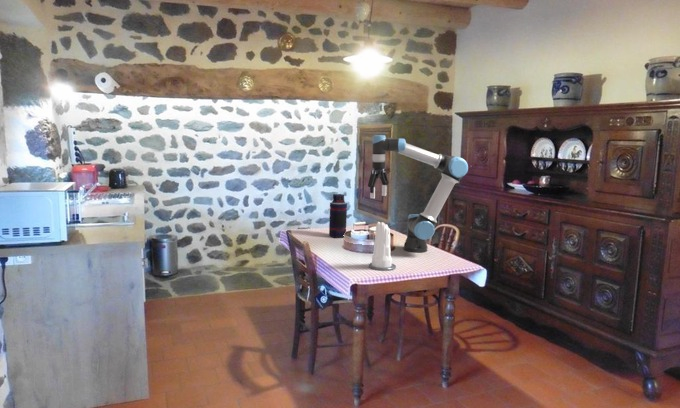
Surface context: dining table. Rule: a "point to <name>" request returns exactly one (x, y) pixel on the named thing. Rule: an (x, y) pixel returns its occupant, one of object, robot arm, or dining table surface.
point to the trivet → (383, 268)
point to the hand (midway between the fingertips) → (378, 197)
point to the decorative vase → (382, 247)
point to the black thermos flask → (337, 216)
